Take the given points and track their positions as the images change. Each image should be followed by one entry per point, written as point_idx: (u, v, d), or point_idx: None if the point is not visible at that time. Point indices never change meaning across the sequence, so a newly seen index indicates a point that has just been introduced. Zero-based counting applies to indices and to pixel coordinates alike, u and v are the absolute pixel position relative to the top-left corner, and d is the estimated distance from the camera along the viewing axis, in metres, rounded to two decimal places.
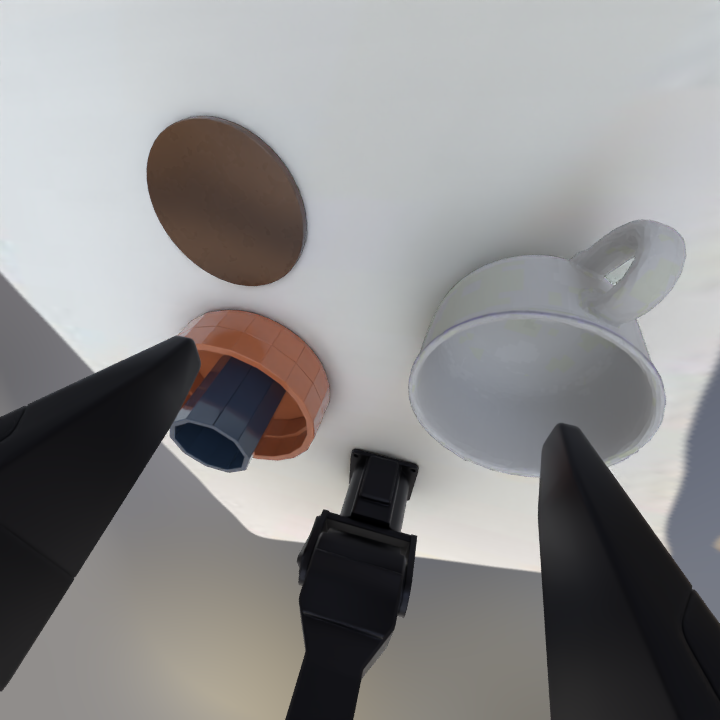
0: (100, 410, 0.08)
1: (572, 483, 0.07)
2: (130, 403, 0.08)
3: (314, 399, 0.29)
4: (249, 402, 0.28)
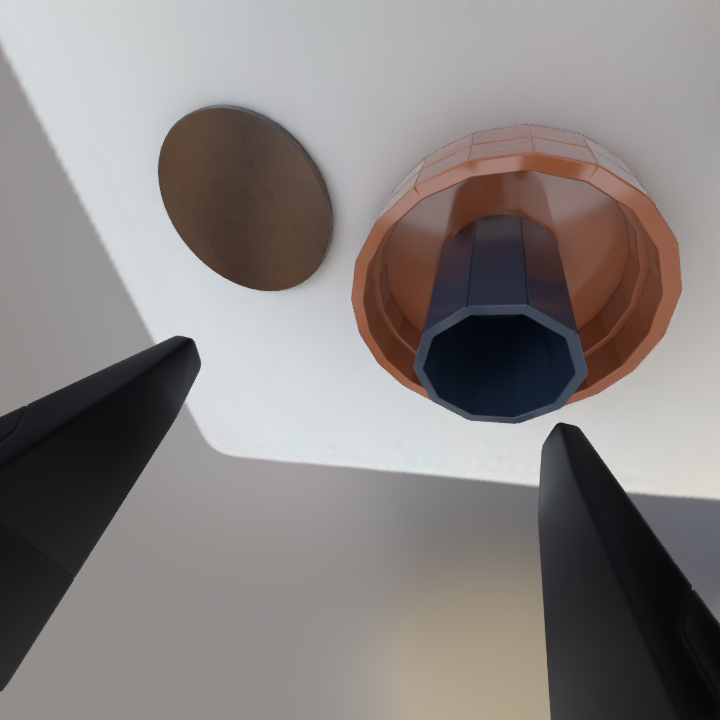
0: (100, 410, 0.08)
1: (572, 483, 0.07)
2: (130, 403, 0.08)
3: (500, 146, 0.14)
4: (457, 272, 0.16)
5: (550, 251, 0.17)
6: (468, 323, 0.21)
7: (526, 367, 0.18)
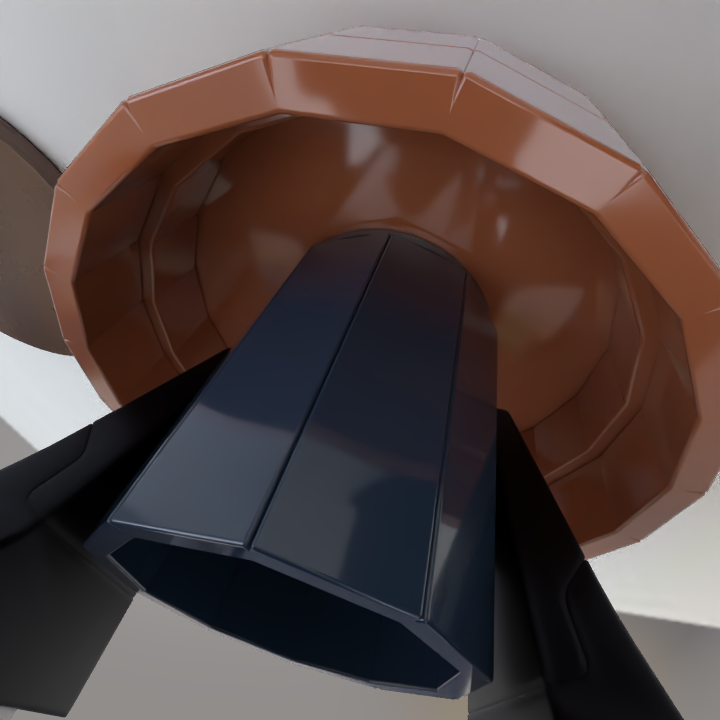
0: (165, 427, 0.07)
1: None
2: None
3: None
4: (217, 369, 0.07)
5: (437, 307, 0.08)
6: None
7: None
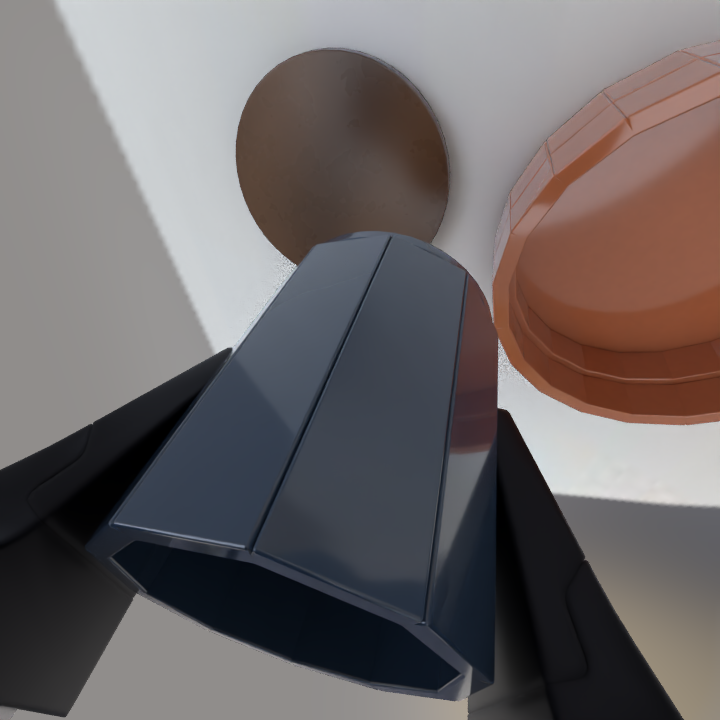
0: (165, 427, 0.07)
1: None
2: None
3: None
4: (218, 371, 0.07)
5: (438, 309, 0.08)
6: None
7: None
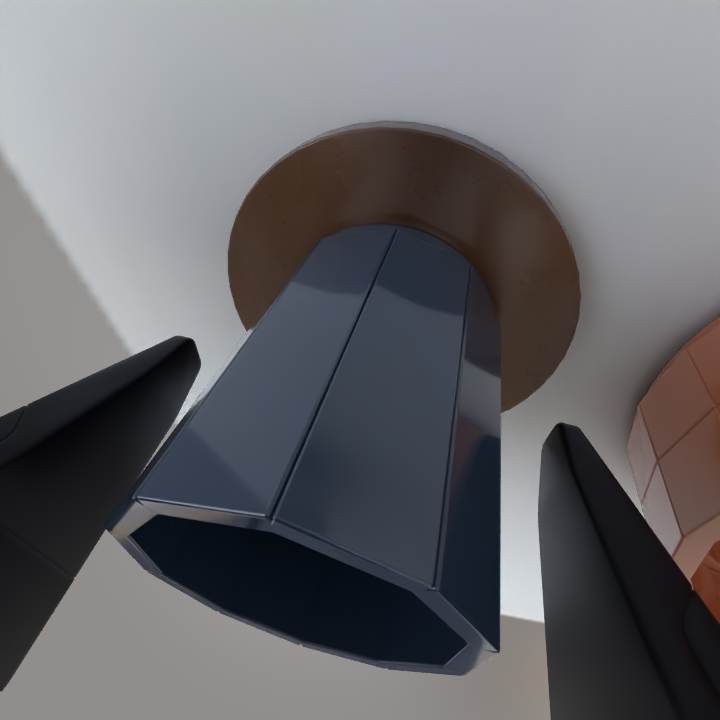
0: (100, 410, 0.08)
1: (572, 483, 0.07)
2: (130, 403, 0.08)
3: None
4: (230, 358, 0.07)
5: (443, 298, 0.08)
6: None
7: None
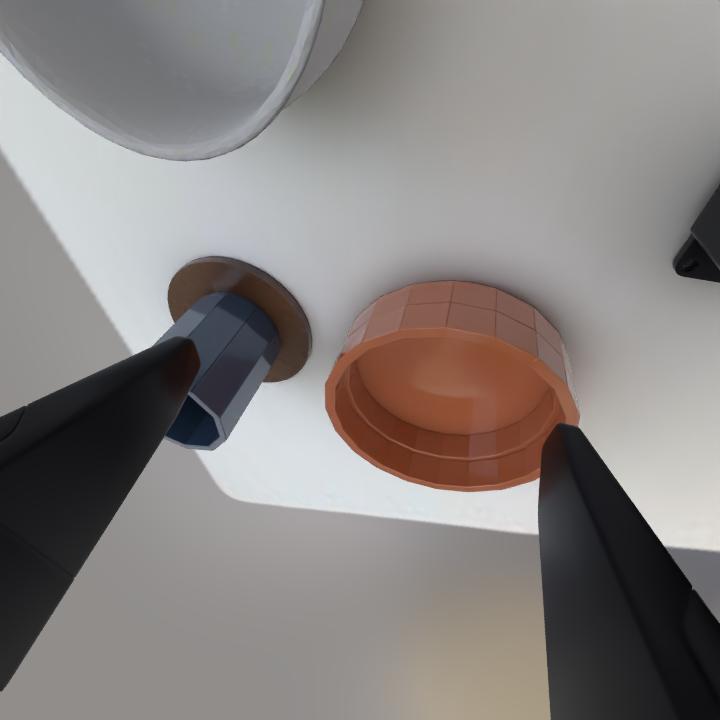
0: (100, 410, 0.08)
1: (572, 483, 0.07)
2: (130, 403, 0.08)
3: (426, 311, 0.18)
4: None
5: (233, 322, 0.22)
6: None
7: None
